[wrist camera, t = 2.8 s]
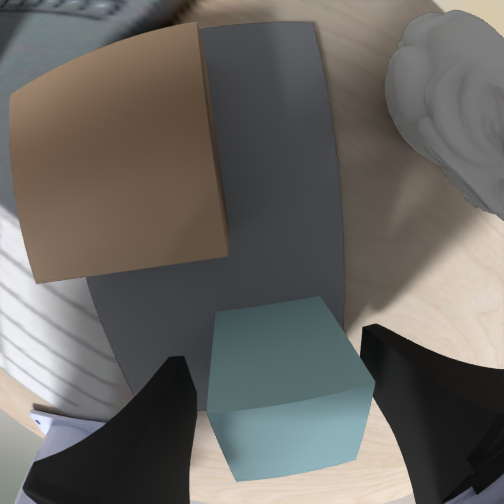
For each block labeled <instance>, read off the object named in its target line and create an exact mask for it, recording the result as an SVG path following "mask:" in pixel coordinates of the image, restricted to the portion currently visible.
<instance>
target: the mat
mask: <svg viewBox="0 0 504 504" xmlns="http://www.w3.org/2000/svg"><path fill="white" fill-rule="evenodd" d="M199 33H200V37H201V41H202V45H203V49H204V53H205V57H206V61H207V69H208V78H209V86H210V94H211V102H212V109H213V117H214V125H215V132H216V140H217V147H218V154H219V161H220V168H221V175H222V182H223V189H224V196H225V203H226V210H227V216H228V223H229V230H230V231H229V247H228V256H227V257H220V258H214V259H207V260H200V261H193V262H186V263H179V264H172V265H165V266H158V267H151V268H144V269H137V270H130V271H123V272H116V273H109V274H102V275H95V276H88V277H86V280H87V283H88V287H89V290H90V293H91V296H92V299H93V302H94V304H95V307H96V310H97V313H98V315H99V318H100V321H101V323H102V326H103V329H104V331H105V334H106V336H107V338H108V341H109V343H110V346H111V348H112V350H113V353H114V355H115V357H116V359H117V361H118V364H119V366H120V368H121V370H122V372H123V374H124V376H125V378H126V380H127V382H128V384H129V386H130V388H131V390H132V392H133V394H134V396H136V395H137V394H138V393H139V392H140V391H141V389H142V388H143V387H144V386H145V385H146V384H147V382H148V381H149V380H150V379H151V378H152V377H153V375H154V374H155V373H156V372H157V370H158V369H159V368H160V367H161V366H162V364H163V363H164V362H165V361H166V360H167V358H168V357H171V356H185V359H186V362H187V365H188V368H189V371H190V374H191V377H192V380H193V383H194V385H195V388H196V391H197V411H205V410H207V400H208V388H209V376H210V365H211V354H212V344H213V334H214V324H215V314H216V312H219V311H227V310H234V309H242V308H249V307H255V306H262V305H269V304H275V303H281V302H288V301H294V300H300V299H305V298H311V297H317V296H321V298H322V299H323V301H324V302H325V304H326V305H327V307H328V308H329V310H330V311H331V313H332V314H333V316H334V318H335V319H336V321H337V322H338V324H339V325H340V327H341V328H342V330H343V331H344V243H343V222H342V206H341V193H340V182H339V171H338V162H337V153H336V145H335V137H334V130H333V123H332V116H331V110H330V103H329V98H328V92H327V86H326V81H325V76H324V71H323V66H322V61H321V56H320V52H319V48H318V43H317V39H316V35H315V31H314V27H313V23H302V22H270V23H250V24H238V25H228V26H220V27H212V28H206V29H200V30H199Z"/></svg>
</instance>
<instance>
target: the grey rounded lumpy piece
mask: <svg viewBox="0 0 504 504" xmlns="http://www.w3.org/2000/svg"><path fill="white" fill-rule="evenodd" d="M385 98H386V103H387V107H388V110H389V113H390V116H391V118H392V121H393V123H394V124H395V126H396V128H397V130H398V132H399V133H400V134H401V136H402V137H403V138H404V140H405V141H406V142H407V143H408V144H409V145H410V146H411V147H412V148H413V149H414V150H415V151H416V152H417V153H419V154H420V155H421V156H423V157H424V158H426V159H427V160H429V161H431V162H433V163H435V164H437V165H439V166H441V168H442V170H443V171H444V173H445V175H446V176H447V177H448V178H449V179H450V180H451V181H452V182H453V183H454V184H455V185H456V186H457V187H458V188H459V189H460V191H461V193H462V195H463V196H464V198H465V199H466V200H467V201H468V202H469V203H471V204H472V205H473V206H474V207H477V208H480V209H481V210H482V211H484V212H488V213H492V214H496V215H497V216H498V217H499V218H500V219H502V220H503V221H504V38H503V37H502V36H501V35H500V34H499V33H498V32H497V31H496V30H495V29H494V28H493V27H491V26H490V25H489V24H488V23H486V22H485V21H484V20H483V19H480V18H478V17H476V16H474V15H472V14H470V13H467V12H464V11H460V10H452V11H449V12H446V13H444V14H441V13H436V12H433V13H426V14H423V15H420V16H418V17H416V18H415V19H413V20H412V21H411V22H410V23H409V24H408V25H407V27H406V28H405V29H404V31H403V37H402V39H401V40H400V42H399V43H398V50H397V51H395V52H394V54H393V55H392V56H391V58H390V61H389V64H388V68H387V72H386V77H385Z"/></svg>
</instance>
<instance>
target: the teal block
mask: <svg viewBox="0 0 504 504" xmlns="http://www.w3.org/2000/svg"><path fill="white" fill-rule="evenodd" d="M374 387H375V381H374V379H373V377H372V376H371V374H370V373H369V371H368V369H367V368H366V366H365V365H364V363H363V361H362V360H361V358H360V357H359V355H358V353H357V352H356V350H355V349H354V347H353V346H352V344H351V342H350V341H349V339H348V338H347V336H346V335H345V333H344V331H343V330H342V328H341V327H340V325H339V324H338V322H337V321H336V319H335V318H334V316H333V314H332V313H331V311H330V310H329V308H328V307H327V305H326V304H325V302H324V301H323V299H322V298H321V296H317V297H311V298H305V299H300V300H294V301H288V302H281V303H275V304H269V305H262V306H255V307H249V308H242V309H234V310H227V311H219V312H216V314H215V324H214V334H213V344H212V354H211V365H210V376H209V388H208V400H207V416H208V418H209V421H210V423H211V426H212V428H213V431H214V433H215V436H216V438H217V440H218V443H219V445H220V447H221V450H222V452H223V454H224V456H225V459H226V461H227V463H228V465H229V468H230V470H231V472H232V474H233V476H234V478H235V480H236V482H238V481H251V480H260V479H268V478H276V477H283V476H289V475H294V474H300V473H305V472H310V471H314V470H319V469H323V468H327V467H331V466H335V465H339V464H342V463H346V462H349V461H353V460H356V458H357V454H358V451H359V448H360V444H361V441H362V437H363V434H364V430H365V426H366V422H367V418H368V414H369V410H370V406H371V401H372V397H373V392H374Z"/></svg>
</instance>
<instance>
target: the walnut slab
mask: <svg viewBox="0 0 504 504" xmlns="http://www.w3.org/2000/svg"><path fill="white" fill-rule="evenodd" d="M9 135H10V156H11V169H12V178H13V186H14V193H15V200H16V206H17V212H18V217H19V222H20V227H21V231H22V236H23V240H24V244H25V248H26V252H27V256H28V259H29V263H30V266H31V269H32V273H33V276H34V279H35V282H36V284H39V283H46V282H53V281H60V280H67V279H74V278H81V277H88V276H95V275H102V274H109V273H116V272H123V271H130V270H137V269H144V268H151V267H158V266H165V265H172V264H179V263H186V262H193V261H200V260H207V259H214V258H220V257H227V256H228V247H229V231H230V230H229V223H228V216H227V210H226V203H225V196H224V189H223V182H222V175H221V168H220V161H219V154H218V147H217V140H216V132H215V125H214V117H213V109H212V102H211V94H210V86H209V78H208V69H207V61H206V57H205V53H204V49H203V45H202V41H201V37H200V33H199V29H198V25H197V21H195V22H190V23H184V24H180V25H175V26H170V27H166V28H162V29H158V30H154V31H150V32H147V33H143V34H140V35H136V36H133V37H130V38H127V39H124V40H121V41H118V42H115V43H112V44H110V45H107V46H104V47H102V48H99V49H97V50H94V51H92V52H89V53H87V54H85V55H82V56H80V57H78V58H76V59H73V60H71V61H69V62H67V63H65V64H63V65H61V66H59V67H57V68H55V69H53V70H51V71H49V72H47V73H46V74H44V75H42V76H40V77H38V78H37V79H35V80H33V81H32V82H30V83H28V84H27V85H25V86H23V87H22V88H20V89H19V90H17V91H15V92H14V93H12V94H11V95H10V112H9Z"/></svg>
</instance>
